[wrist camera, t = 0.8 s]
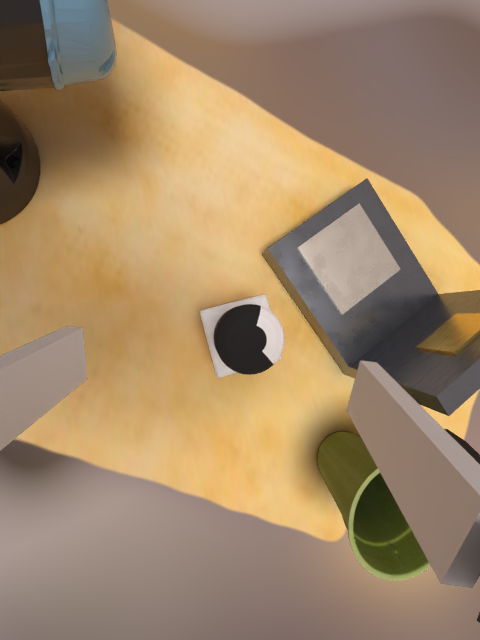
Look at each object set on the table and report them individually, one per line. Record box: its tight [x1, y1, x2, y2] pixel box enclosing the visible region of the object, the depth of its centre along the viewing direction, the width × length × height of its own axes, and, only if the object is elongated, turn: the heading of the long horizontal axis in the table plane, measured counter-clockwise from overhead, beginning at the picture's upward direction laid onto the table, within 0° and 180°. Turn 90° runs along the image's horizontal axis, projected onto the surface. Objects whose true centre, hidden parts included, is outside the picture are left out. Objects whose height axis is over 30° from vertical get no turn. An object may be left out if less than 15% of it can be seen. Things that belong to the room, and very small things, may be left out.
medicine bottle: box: [200, 294, 284, 378], centre depth 27 cm, size 7×7×12 cm
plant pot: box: [317, 431, 431, 581], centre depth 30 cm, size 12×12×11 cm
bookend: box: [262, 179, 480, 416], centre depth 28 cm, size 20×16×15 cm
